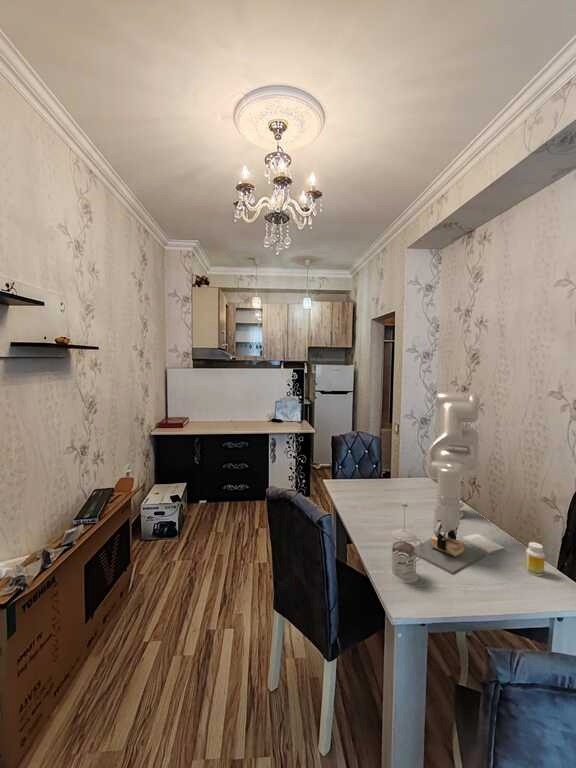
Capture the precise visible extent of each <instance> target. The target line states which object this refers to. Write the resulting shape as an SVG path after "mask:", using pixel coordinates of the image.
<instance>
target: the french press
mask: <svg viewBox="0 0 576 768" xmlns="http://www.w3.org/2000/svg"><path fill="white" fill-rule="evenodd" d="M408 506H409V505H408V503H407V502H406V501H404V502H402V503H401V507H404V510H403V511H404V512H403V514H404V515H403V528H398V529H395V530H393V531H391V536H392V537H393V539H395V540H396V542H394V543H393V544H392V548H391V567H390V568H389V569H388V575H389V577H390V578H391V579H393V580H395V581H396V582H400V583H403V584H412V583H416V582H417V581H418V580H419V574H418V573H417V562H418V561H419V560H421V558H422V556H423V554H424V546H423V544H422V543H423V542H422V541H421V540H420V539H419V538H418V536H417V534H416V533H414V532H413V531H411V530H409V529H406V528H405V526H406V525H405V522H406V516H405V515H406V508H407V507H408ZM417 541H418V542H419V544H422V545H421V551H422V546H423V554H422V556H421V558H419V557H418V556H419V555H420V553H421V551H420V553H419V555H418V556H416V552H415V555H414V550H415V545H413V544H412V542H414V543H415V544H416V542H417ZM410 542H411V543H410ZM417 558H418V559H417Z"/></svg>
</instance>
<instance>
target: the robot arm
mask: <svg viewBox="0 0 576 768" xmlns="http://www.w3.org/2000/svg"><path fill="white" fill-rule="evenodd" d="M434 400H435V405H436V408H437V410H438V411H439V425H438V427H439V430H438V436H437V437H436V438H435V439H434V440H433V441H432V442H431V443H430V445H429V446H428V449H427V450H426V455H425V474H426V476H427V478H429V479H432V480H437V481H436V482H437V488H436V505H435V508H434V514H433V529H434V530H433V533H434V535H436V537H437V547H438V548H439V549H442V550H444V551H445V550H446V540H445V537H446V536H448V537H450V538H452V539H455V540H457V534H458V529H459V526H460V524H461V522H460V520H461V519H462V518H464V513H463V512H462V511H461V508H464V507H465V506H464V503H463V502H461V482H462V481H463V479H465V477H466V472H475V471H476V470H478V466H479V458H480V456H479V453H480V452H479V450H480V437H479V432H478V430H477V429H475V428H473V427H469V426H468V427H466V426H464V427H463V425H462V424H463V423H476V422H478V419H479V415H480V414H479V413H480V408H479V399H478V395H477V394H476V393H473V392H461V391H460V392H457V391H452V392H451V391H440V392H438V393H436V394H435V396H434ZM445 446H446V447H447V448H442V447H445ZM449 447H453V448H449ZM459 448H463V449H459ZM438 449H439V450H438ZM436 451H438V452H437V454H436V457H437V458H436V459H434V456H435V453H436ZM441 534H442V535H443V536H442V535H441Z"/></svg>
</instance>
